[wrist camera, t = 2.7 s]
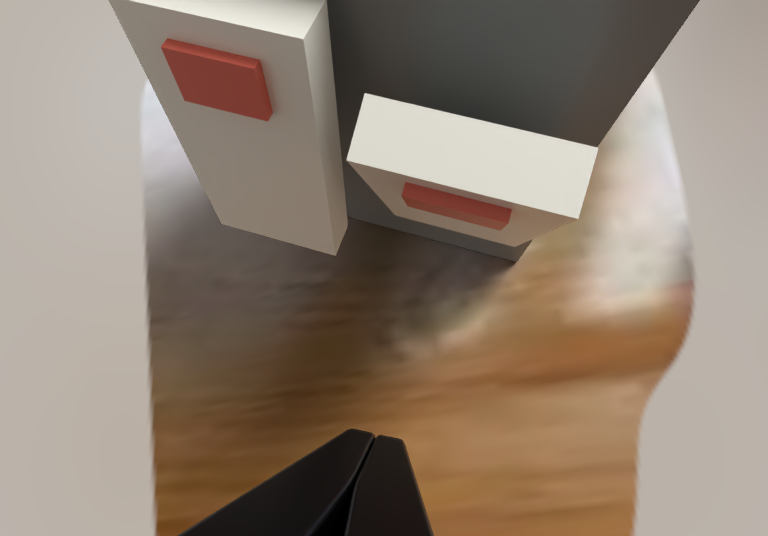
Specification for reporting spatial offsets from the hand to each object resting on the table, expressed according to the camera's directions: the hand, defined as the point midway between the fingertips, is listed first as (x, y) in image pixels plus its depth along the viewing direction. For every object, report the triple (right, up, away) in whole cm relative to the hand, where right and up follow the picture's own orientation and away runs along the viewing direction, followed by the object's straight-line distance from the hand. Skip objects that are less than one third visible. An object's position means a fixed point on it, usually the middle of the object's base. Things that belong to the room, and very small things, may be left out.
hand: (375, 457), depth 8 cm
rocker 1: (-3, +4, +9) cm, 11 cm away
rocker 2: (+3, +5, +9) cm, 10 cm away
